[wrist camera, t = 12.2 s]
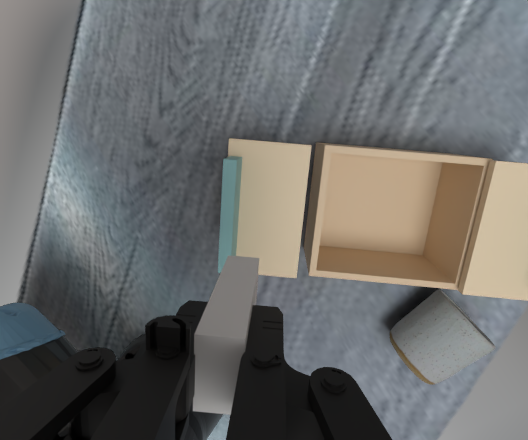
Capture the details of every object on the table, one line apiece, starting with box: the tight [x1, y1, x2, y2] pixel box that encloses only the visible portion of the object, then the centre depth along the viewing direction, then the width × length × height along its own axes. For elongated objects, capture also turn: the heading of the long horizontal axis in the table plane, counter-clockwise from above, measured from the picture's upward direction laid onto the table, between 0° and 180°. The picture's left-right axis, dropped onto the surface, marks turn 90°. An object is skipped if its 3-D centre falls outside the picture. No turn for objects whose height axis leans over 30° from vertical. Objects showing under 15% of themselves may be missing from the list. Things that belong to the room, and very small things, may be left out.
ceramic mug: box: [390, 289, 495, 384], centre depth 38 cm, size 11×8×8 cm
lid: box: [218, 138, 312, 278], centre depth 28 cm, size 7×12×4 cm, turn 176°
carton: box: [304, 142, 493, 290], centre depth 34 cm, size 14×12×8 cm
